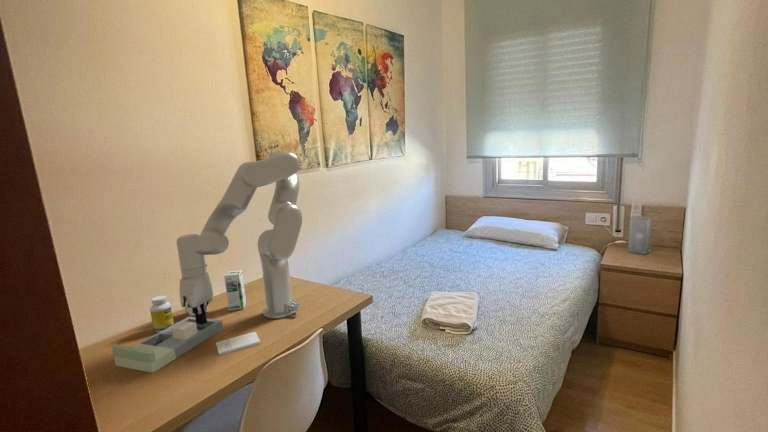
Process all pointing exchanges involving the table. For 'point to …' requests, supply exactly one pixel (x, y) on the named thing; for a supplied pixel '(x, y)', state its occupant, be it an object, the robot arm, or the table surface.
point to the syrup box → (235, 290)
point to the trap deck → (162, 347)
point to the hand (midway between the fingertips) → (201, 323)
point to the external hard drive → (237, 343)
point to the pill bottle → (161, 313)
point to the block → (184, 330)
